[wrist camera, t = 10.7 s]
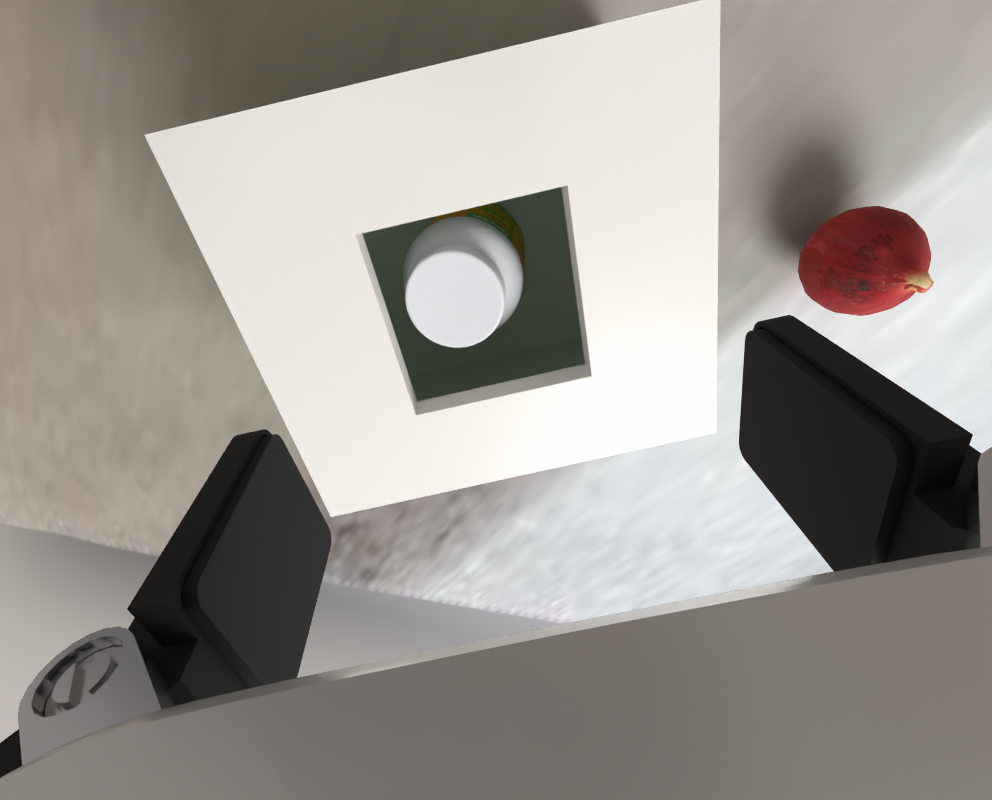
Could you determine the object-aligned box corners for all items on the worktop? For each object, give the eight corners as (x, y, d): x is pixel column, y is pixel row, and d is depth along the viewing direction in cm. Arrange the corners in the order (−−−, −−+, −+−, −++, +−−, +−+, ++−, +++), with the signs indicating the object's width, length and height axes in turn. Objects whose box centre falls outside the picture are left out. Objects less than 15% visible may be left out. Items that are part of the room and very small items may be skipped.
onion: (768, 301, 33) (854, 350, 26) (775, 209, 30) (873, 237, 24) (857, 282, 33) (967, 326, 26) (872, 188, 30) (999, 209, 23)
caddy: (264, 127, 26) (144, 134, 16) (609, 44, 26) (720, -5, 15) (366, 393, 34) (330, 517, 24) (632, 334, 34) (716, 432, 23)
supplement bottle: (531, 202, 27) (531, 239, 19) (519, 299, 30) (514, 370, 22) (431, 191, 27) (386, 223, 19) (427, 289, 30) (386, 356, 22)
